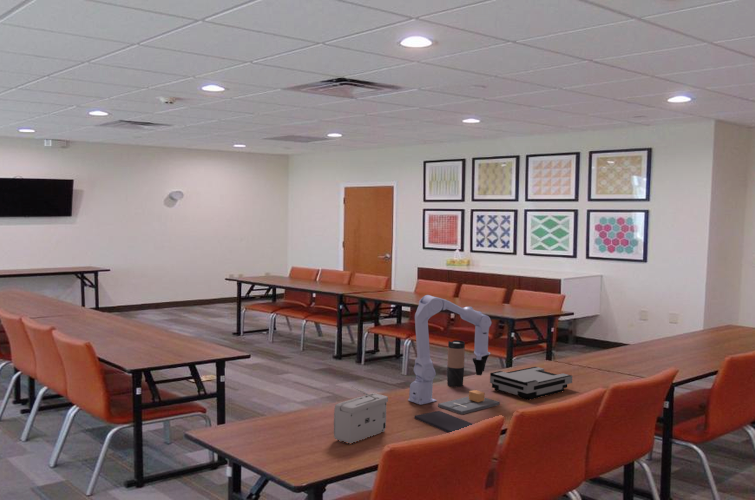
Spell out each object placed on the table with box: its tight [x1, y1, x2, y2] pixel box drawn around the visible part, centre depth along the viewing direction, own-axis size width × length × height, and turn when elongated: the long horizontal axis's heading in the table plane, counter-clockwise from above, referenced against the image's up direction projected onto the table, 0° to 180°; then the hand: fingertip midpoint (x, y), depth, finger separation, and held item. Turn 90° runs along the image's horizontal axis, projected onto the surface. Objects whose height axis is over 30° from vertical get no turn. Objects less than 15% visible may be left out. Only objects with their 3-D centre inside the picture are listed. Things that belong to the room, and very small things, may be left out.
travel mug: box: [446, 339, 466, 388], centre depth 310 cm, size 8×8×20 cm
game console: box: [489, 366, 573, 401], centre depth 305 cm, size 21×32×8 cm, turn 129°
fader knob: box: [468, 389, 486, 402], centre depth 281 cm, size 4×5×3 cm
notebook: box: [414, 410, 473, 433], centre depth 255 cm, size 13×2×21 cm
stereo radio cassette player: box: [333, 386, 389, 444], centre depth 237 cm, size 21×8×20 cm, turn 141°
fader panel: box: [437, 396, 500, 415], centre depth 279 cm, size 23×13×1 cm, turn 130°
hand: (480, 373), depth 292 cm, fingers open, 7 cm apart
